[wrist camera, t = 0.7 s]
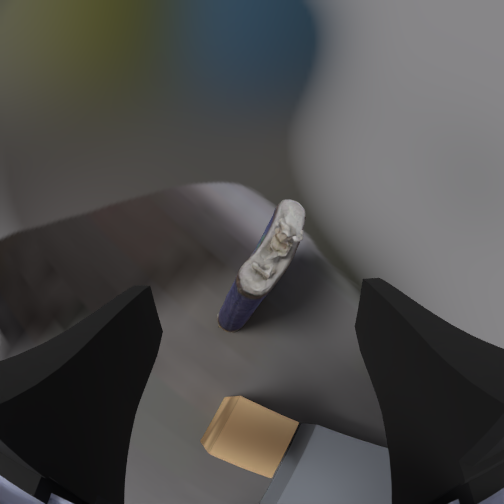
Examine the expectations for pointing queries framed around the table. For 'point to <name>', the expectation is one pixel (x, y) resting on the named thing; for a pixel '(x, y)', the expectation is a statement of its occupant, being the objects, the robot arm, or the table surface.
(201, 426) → the table surface
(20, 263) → the table surface
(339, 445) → the base block
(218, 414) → the oak block
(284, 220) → the flask
